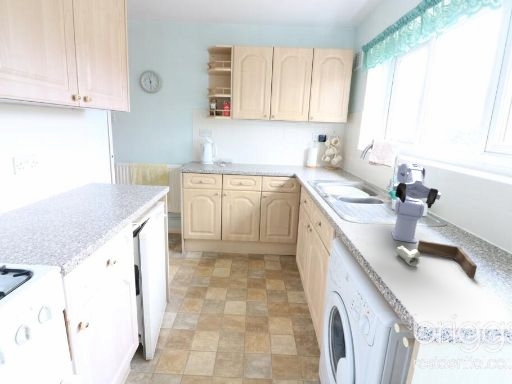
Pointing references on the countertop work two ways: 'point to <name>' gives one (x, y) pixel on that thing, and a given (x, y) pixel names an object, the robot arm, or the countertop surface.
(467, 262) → the corner arena
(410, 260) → the pipe fitting
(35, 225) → the countertop surface
